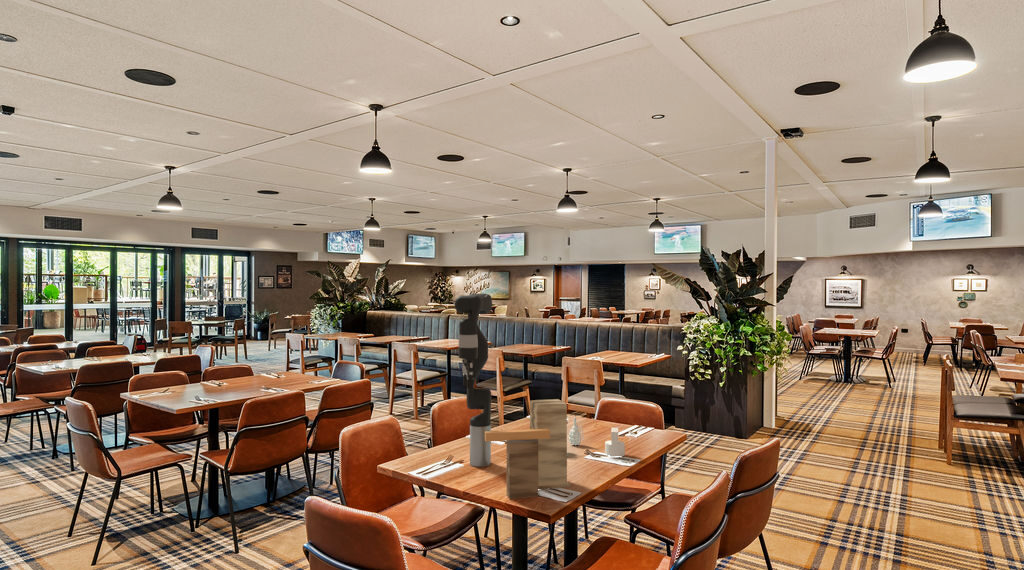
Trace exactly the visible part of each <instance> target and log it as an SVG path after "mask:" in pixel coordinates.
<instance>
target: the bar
mask: <svg viewBox="0 0 1024 570" xmlns="http://www.w3.org/2000/svg"><path fill="white" fill-rule="evenodd" d="M531 439H550V430H549V429H530V428H528V429H507V430H491V431H485V441H486V442H488V441H491V442H502V441H503V442H504V441H506V442H507V441H510V440H531Z"/></svg>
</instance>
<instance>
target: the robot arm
mask: <svg viewBox="0 0 1024 570" xmlns="http://www.w3.org/2000/svg"><path fill="white" fill-rule="evenodd" d="M453 305H454V309H455V311H456V312H457V313H459V314H467V318H463V319H461V320H460V321H459V325H458V327H459V328H458V331H459V332H458V335H459V336H458V359H461V361H462V363H461V364H462V368H461V374H462V376H463V386H464V387H466V407H467V409H469V410H483V411H482V412H481V413H479V414H477V415H474V416H472V417H470V419H469V466H472V467H477V468H478V467H479V468H482V467H488V466H490V465H491V462H492V456H491V455H492V451H491V450H492V446H491V445H492V441H488V442H486V441H485V431H492V430H491V429H492V425H491V424H492V419H491V415H492V414H491V411H492V390H491V389H490V388H489V387H488V388H487V387H483V388H482V387H475V384H476V381H477V378H478V376H479V375H480V373H481V371H482V369H483V368H484V366H485V365H486V364H487V362H488V361H489V360H488V359H489V342H488V340H487V338H486V336H485V334H484V333H483V332H482V330H481V329H480V327H479V325H478V321H479V315H487V314H490V313H491V312H492V309H493V298H492V296H491V295H490V294H489V293H469V294H468V295H458V296H457V297H456V298H455V300H454V304H453Z"/></svg>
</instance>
